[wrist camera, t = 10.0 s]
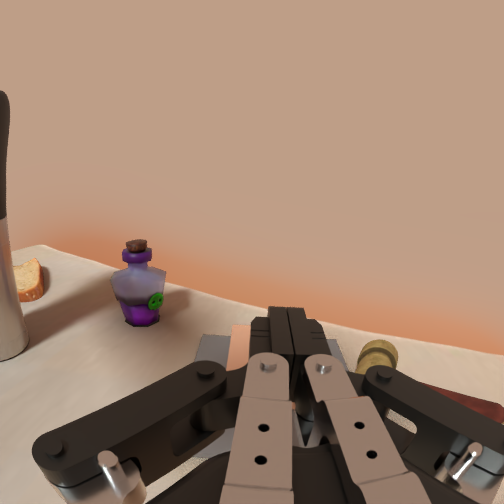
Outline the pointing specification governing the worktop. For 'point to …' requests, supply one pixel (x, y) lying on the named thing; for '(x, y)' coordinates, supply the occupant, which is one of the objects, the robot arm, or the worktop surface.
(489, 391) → the worktop surface
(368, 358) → the gavel
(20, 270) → the slice of bread
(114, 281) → the potion bottle
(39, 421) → the worktop surface
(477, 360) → the worktop surface
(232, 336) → the tile
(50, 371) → the worktop surface
